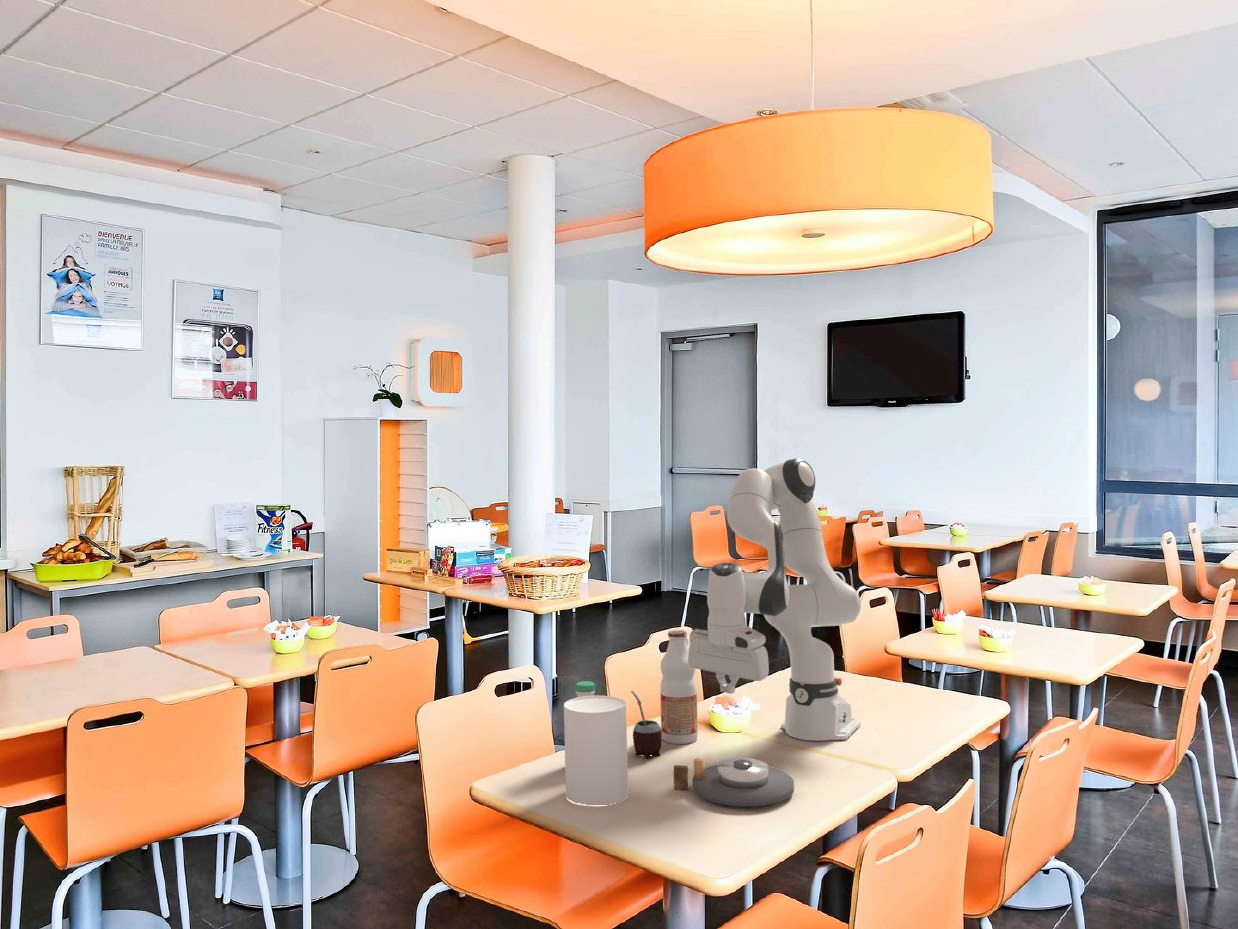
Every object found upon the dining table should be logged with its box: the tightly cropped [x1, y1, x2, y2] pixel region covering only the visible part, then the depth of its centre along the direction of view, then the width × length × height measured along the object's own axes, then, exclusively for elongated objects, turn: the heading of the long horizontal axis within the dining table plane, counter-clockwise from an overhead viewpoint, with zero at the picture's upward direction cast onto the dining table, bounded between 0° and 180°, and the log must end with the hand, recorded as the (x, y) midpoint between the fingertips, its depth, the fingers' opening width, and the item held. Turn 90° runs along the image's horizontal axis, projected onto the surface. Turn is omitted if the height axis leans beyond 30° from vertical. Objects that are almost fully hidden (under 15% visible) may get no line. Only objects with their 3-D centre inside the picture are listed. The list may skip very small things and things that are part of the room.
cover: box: [717, 757, 769, 789], centre depth 202 cm, size 11×11×4 cm
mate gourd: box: [630, 690, 663, 761], centre depth 227 cm, size 8×8×15 cm
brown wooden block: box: [673, 764, 689, 792], centre depth 204 cm, size 3×2×5 cm, turn 81°
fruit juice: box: [659, 629, 699, 745], centre depth 239 cm, size 9×9×28 cm
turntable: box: [691, 757, 795, 807], centre depth 202 cm, size 22×22×6 cm
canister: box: [563, 695, 629, 806], centre depth 202 cm, size 14×14×20 cm
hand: (727, 692), depth 216 cm, fingers closed
